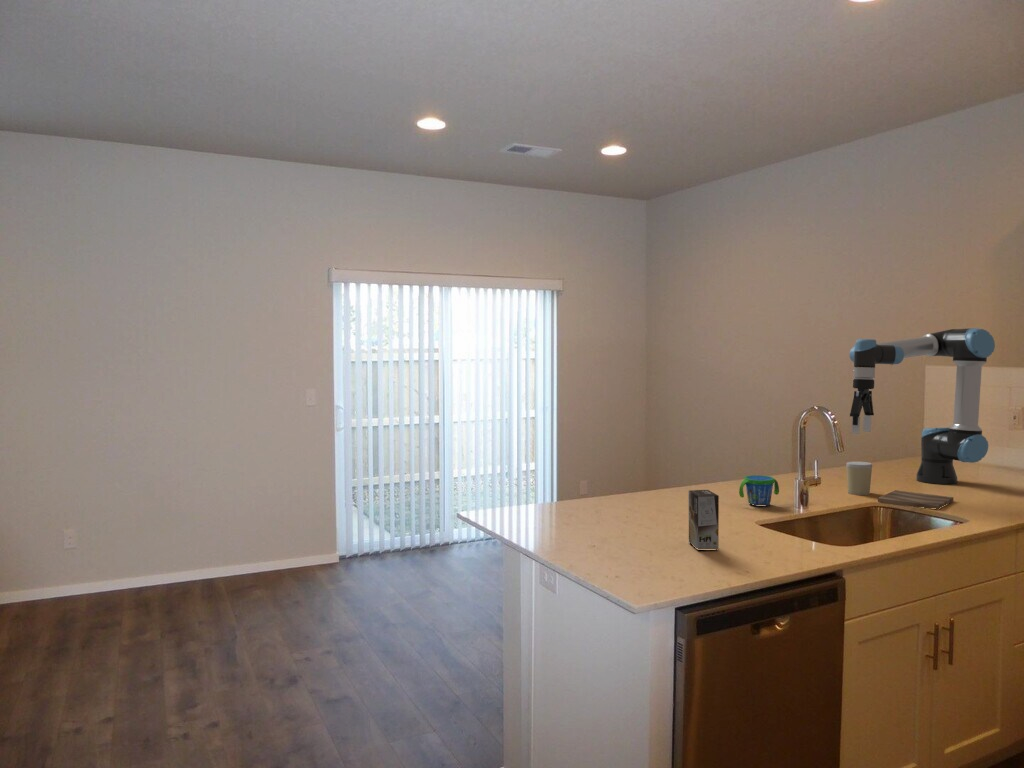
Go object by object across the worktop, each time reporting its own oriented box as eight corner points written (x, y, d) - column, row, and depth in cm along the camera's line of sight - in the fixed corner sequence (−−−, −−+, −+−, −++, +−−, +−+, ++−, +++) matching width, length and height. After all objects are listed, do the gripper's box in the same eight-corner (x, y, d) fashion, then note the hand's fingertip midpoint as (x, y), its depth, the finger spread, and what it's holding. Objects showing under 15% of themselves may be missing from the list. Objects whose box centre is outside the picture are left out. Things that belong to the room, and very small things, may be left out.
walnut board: (895, 493, 286) (895, 490, 286) (953, 501, 272) (953, 497, 271) (877, 502, 271) (877, 498, 271) (937, 510, 257) (938, 505, 257)
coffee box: (719, 551, 209) (719, 495, 208) (697, 551, 208) (698, 496, 208) (708, 542, 218) (708, 489, 217) (687, 543, 217) (687, 489, 217)
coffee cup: (866, 491, 292) (866, 461, 291) (875, 495, 283) (876, 465, 282) (842, 490, 293) (842, 461, 292) (850, 495, 283) (851, 464, 283)
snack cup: (746, 509, 262) (746, 480, 261) (732, 502, 272) (732, 475, 272) (786, 507, 264) (786, 479, 264) (771, 501, 275) (771, 474, 274)
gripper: (863, 378, 297) (861, 429, 298) (842, 378, 279) (840, 433, 280) (883, 378, 292) (880, 431, 293) (863, 379, 274) (860, 435, 274)
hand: (861, 432), depth 286 cm, fingers open, 13 cm apart
